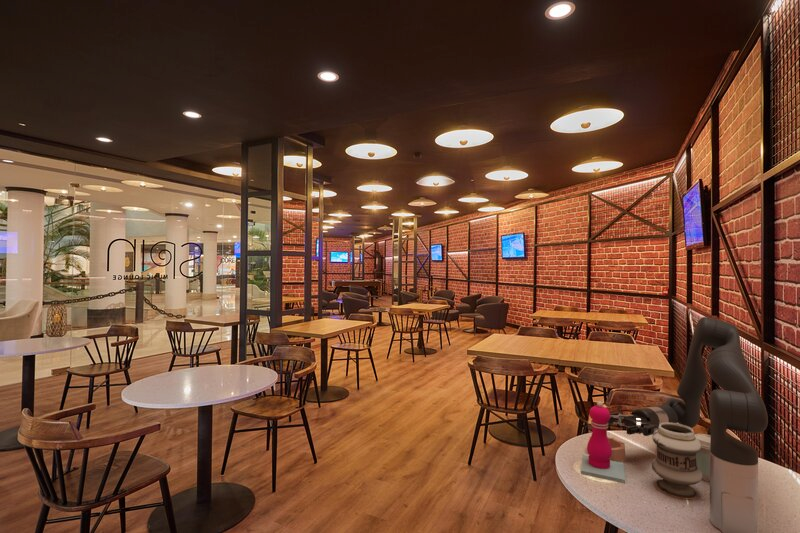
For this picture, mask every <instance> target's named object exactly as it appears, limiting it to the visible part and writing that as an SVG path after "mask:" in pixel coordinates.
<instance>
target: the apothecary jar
mask: <svg viewBox="0 0 800 533" xmlns="http://www.w3.org/2000/svg"><path fill="white" fill-rule="evenodd" d="M651 437H652V438H651V439H652V441H653V443H654V444H655V445H656V456H655V458H654V459H652V461H651V468H652V470H653V472H654V473H655V474H656V475H657V476H658V477H660V478H661V479H658V480H657V481H656V482H655V486H656V488H657V489H658V490H659V491H661V492H663V493H666V495H669V496H672V497H674V498H677V499H681V500H682V499H684V500H692V499H695V498H697V496H698V494H697V491H696V490H695V489H694V488H693V487H692V486H695V485H696V484H699V483H700V482H702V480H703V479H702V473H701V471H700V469H699V468H698V467H697V464H696V453H697V452H699V451H700V450H701V443H700V441H699V440H698V439H697V438H696V437H695V431H694V429H693V428H690V427H688V426H685V425H682V424H679V423H661V424H660V425H659V428H658V430H656V431H655V432H654V433H653V434H652V436H651Z"/></svg>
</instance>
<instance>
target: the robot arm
mask: <svg viewBox="0 0 800 533" xmlns="http://www.w3.org/2000/svg"><path fill="white" fill-rule="evenodd" d="M703 346H707V347H709V348H713V350H711V351H710V353H709V354H708V355H707V358H706V365H707V369H708V374H709V376H710V378H711V379H712V381H713V382H714V383H715V384H716V385H718V386H719V387H720V388H722V389H714V390H712V391H711V392H710V395H709V400H708V402H709V405H708V406H709V407H708V408H709V421H710V422H709V423H710V435H711V441H710V482H709V522H710V523H711V524H712V525H713V526H714V527H716V528H717V529H718V530H720V531H721V533H758V526H759V525H758V523H759V522H758V515H759V514H758V511H759V510H758V508H759V506H758V505H759V502H758V500H759V499H758V498H759V496H758V495H759V454H758V450H757V449H756V448H755V447H753V446H752V445H750V444H748V443H747V442H744V441H742V440H740V439H738V438H736V437H734V436H733V435H731V434H730V433H729V432H727V430H732V431H737V432H743V433H748V434H749V433H750V434H761V433H763V432H764V431H765V430H766V429H767V427H768V424H769V416H768V411H767V408H766V404H765V403H764V400H763V398H762V396H761V395H760V393H759V391H758V389H757V388H756V386H755V384H754V381H753V378H752V375H751V371H750V368H749V365H748V363H747V360H746V358H745V356H744V355H745V354H744V353H743V349H742V345H741V339H740V334H739V329H738V328H737V326H736V325H735V324H733V323H730V322H726V321H723V320H720V319H715V318H713V317H706V316H703V317H701V318H700V319H699V320H698V321H697V323H696V325H695V327H694V330H693V334H692V339H691V342H690V345H689V349H688V354H687V358H686V363H685V364H686V365H685V368H684V371H683V375H682V377H681V379H680V381H679V385H678V387H677V390H676V393H677V395H678V397H679V398H680V399H681V400H682V401H681V400H680V399H677V398H669V399H668V400H667V401H665V402H664V403H662V404H661V405H657V406H648V407H647V406H646V407H643V408H636V409H634V410H633V411H632V412H631V413H629V414H623V412H622V411H615V412H609V413H610V420H609V421H608V426H610V425H613V424H616V425H617V424H618V425H619V426H621V427H622V426H623V427H626V434H627V435H629V436H630V435H635V434H638V435H641V434H642V435H643V436H644V437H648V436H651V435H653V433H654V432H655V431H656V430H658V428H659V425H660V424H661V423H677V424H682V425H685V426H688V427H690V428H692V429H693V428H695V427H696V426H697V425H698V423H699V422H700V418H701V404H702V403H701V402H702V397H703V395H704V392H705V390H706V388H707V386H708V375H707V372H706V368H705V365H704V362H703V358H702V349H703ZM622 420H623V422H622Z"/></svg>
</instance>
